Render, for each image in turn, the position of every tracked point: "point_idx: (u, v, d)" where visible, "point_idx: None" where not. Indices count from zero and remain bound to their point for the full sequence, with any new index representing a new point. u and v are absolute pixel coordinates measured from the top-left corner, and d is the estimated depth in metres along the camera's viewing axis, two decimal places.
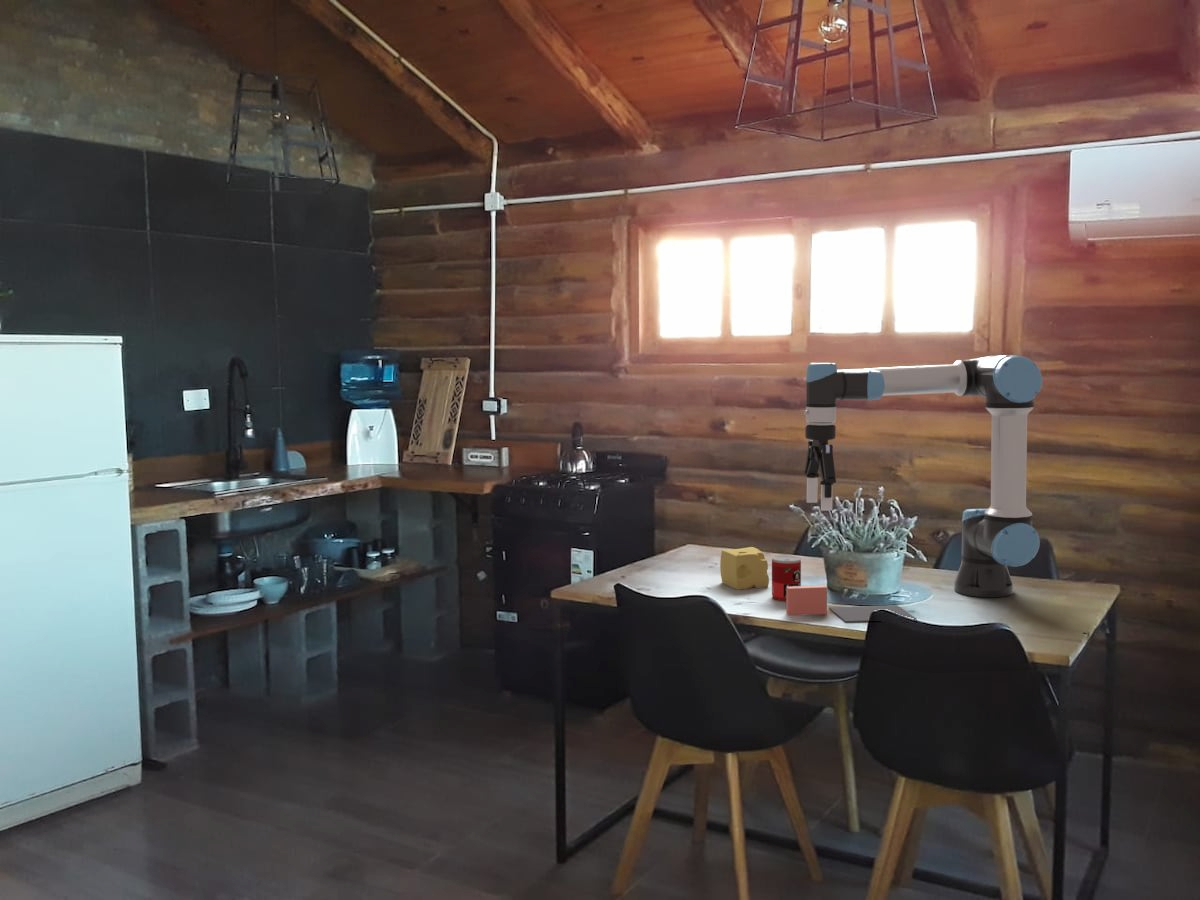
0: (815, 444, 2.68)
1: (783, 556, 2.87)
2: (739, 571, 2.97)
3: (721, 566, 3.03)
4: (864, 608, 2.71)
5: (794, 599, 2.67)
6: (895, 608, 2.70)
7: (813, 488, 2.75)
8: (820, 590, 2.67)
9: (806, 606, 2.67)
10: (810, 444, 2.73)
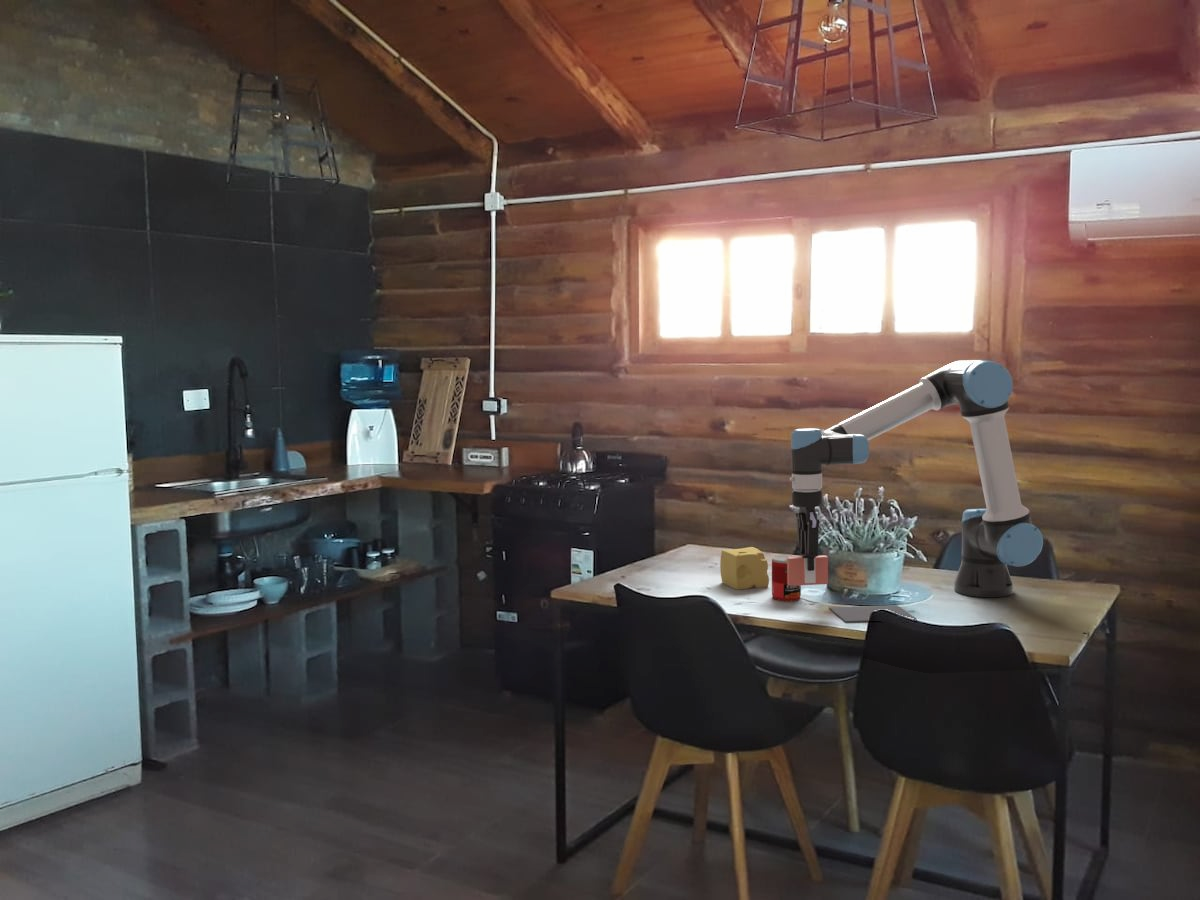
0: None
1: (783, 556, 2.87)
2: (739, 571, 2.97)
3: (721, 566, 3.03)
4: (864, 608, 2.71)
5: (795, 569, 2.66)
6: (895, 608, 2.70)
7: None
8: (820, 560, 2.66)
9: None
10: (798, 515, 2.71)
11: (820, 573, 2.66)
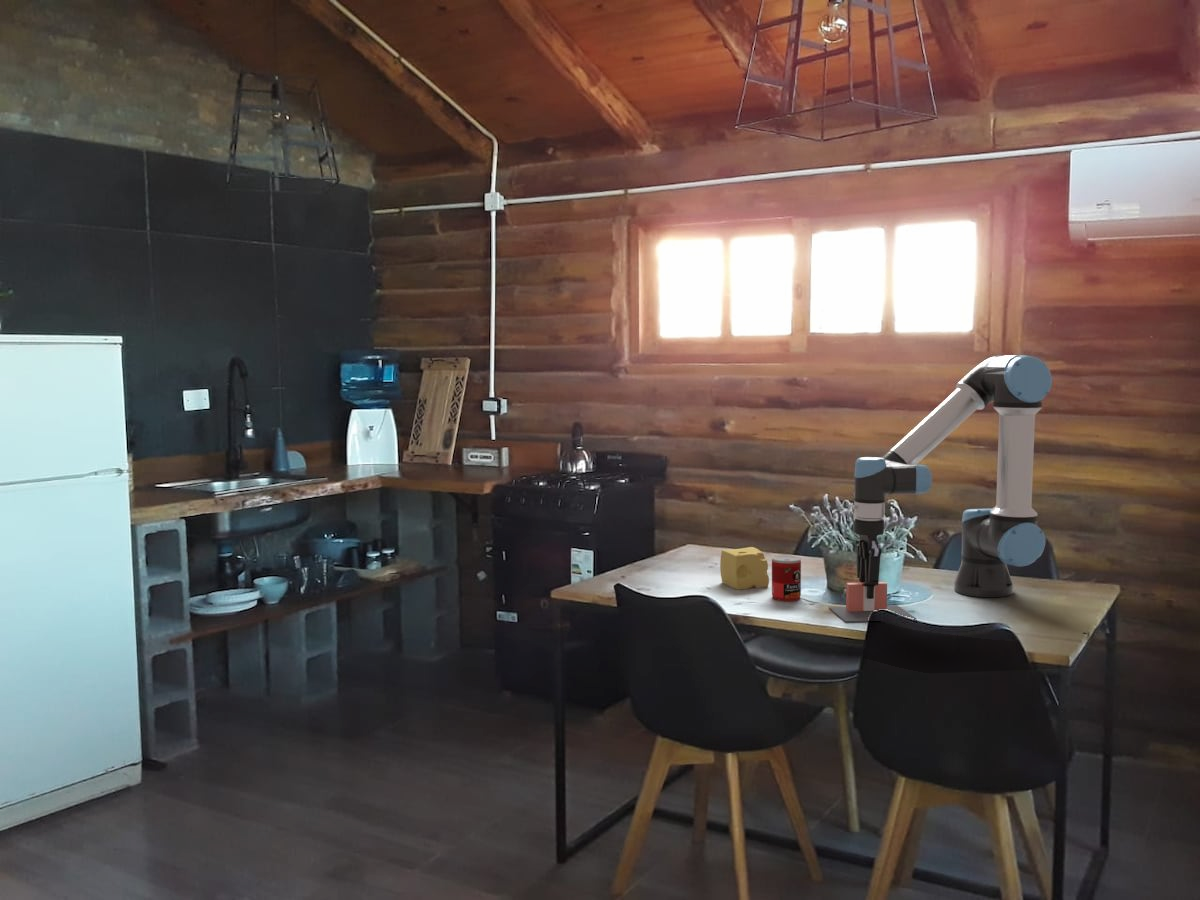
0: None
1: (783, 556, 2.87)
2: (739, 571, 2.97)
3: (721, 566, 3.03)
4: None
5: (854, 595, 2.67)
6: (895, 608, 2.70)
7: None
8: (880, 586, 2.68)
9: None
10: (858, 542, 2.73)
11: (879, 599, 2.68)
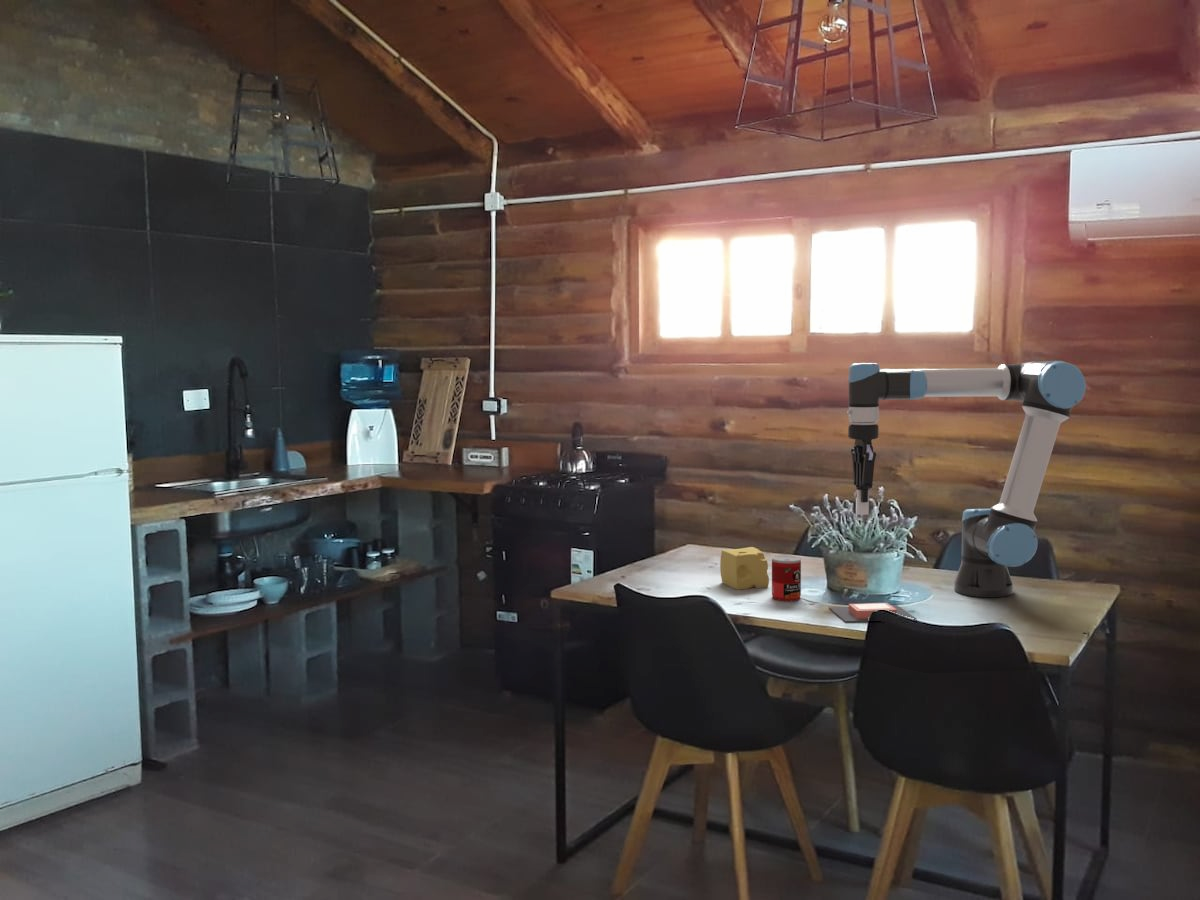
0: None
1: (783, 556, 2.87)
2: (739, 571, 2.97)
3: (721, 566, 3.03)
4: None
5: None
6: (895, 608, 2.70)
7: None
8: None
9: None
10: (853, 450, 2.75)
11: None
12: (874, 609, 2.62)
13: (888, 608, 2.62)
